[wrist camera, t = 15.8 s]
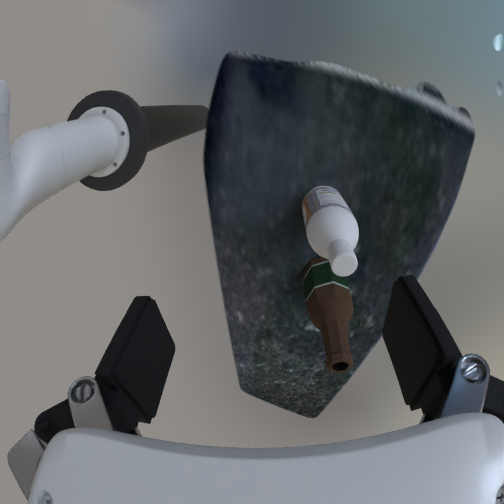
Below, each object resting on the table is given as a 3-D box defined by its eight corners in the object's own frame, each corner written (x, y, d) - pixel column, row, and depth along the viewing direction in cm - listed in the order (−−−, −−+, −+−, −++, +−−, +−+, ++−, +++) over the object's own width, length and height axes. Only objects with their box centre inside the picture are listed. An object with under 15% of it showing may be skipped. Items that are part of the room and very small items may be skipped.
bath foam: (297, 186, 44) (306, 242, 26) (337, 179, 42) (374, 229, 25) (305, 224, 47) (316, 297, 29) (343, 217, 45) (376, 285, 28)
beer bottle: (325, 240, 48) (350, 338, 28) (349, 266, 51) (379, 365, 30) (293, 264, 52) (297, 367, 31) (318, 288, 54) (331, 389, 33)
